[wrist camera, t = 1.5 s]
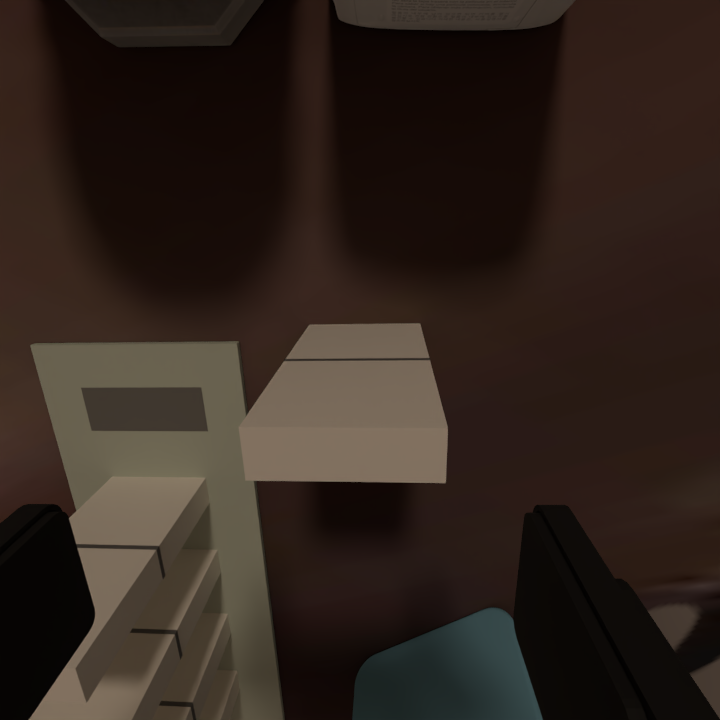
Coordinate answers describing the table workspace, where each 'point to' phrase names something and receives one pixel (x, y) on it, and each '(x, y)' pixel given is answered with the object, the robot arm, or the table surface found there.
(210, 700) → the domino
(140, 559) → the domino
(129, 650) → the domino
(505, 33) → the table surface
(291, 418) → the domino
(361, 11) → the photo printer
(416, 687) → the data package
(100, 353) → the domino mat
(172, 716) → the domino
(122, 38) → the tankard
